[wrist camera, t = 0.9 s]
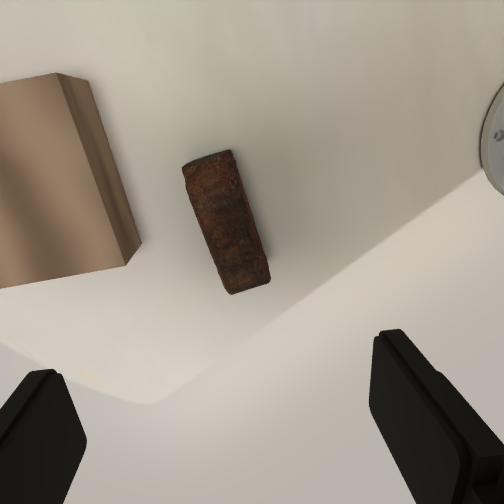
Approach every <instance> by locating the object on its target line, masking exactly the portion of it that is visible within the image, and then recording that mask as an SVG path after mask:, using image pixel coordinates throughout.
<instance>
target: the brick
mask: <svg viewBox="0 0 504 504" xmlns="http://www.w3.org/2000/svg"><path fill="white" fill-rule="evenodd" d="M182 172H183V175H184V177H185V182H186V190H187V193H188V195H189V199H190V202H191V204H192V206H193V209H194V212H195V215H196V217H197V220H198V222H199V225H200V227H201V230H202V233H203V235H204V238H205V240H206V243H207V245H208V248H209V251H210V253H211V255H212V258H213V260H214V263H215V265H216V267H217V270H218V274H219V276H220V278H221V280H222V283H223V286H224V288H225V289H226V291H227V292H228V293H229V294H231V295H233V294H236V293H239V292H242V291H245V290H248V289H251V288H254V287H258V286H261V285H264V284H267V283H269V282H270V280H271V276H270V272H269V266H268V262H267V258H266V256H265V254H264V251H263V248H262V244H261V241H260V238H259V235H258V232H257V229H256V226H255V222H254V219H253V216H252V213H251V210H250V207H249V204H248V201H247V197H246V194H245V192H244V188H243V185H242V181H241V178H240V175H239V172H238V169H237V166H236V162H235V159H234V157H233V154H232V152H231V150H225V151H222V152H218V153H215V154H212V155H209V156H206V157H203V158H200V159H197V160H194V161H192V162H189V163H187V164H186V165H184V166H183V167H182Z"/></svg>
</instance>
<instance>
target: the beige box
mask: <svg viewBox="0 0 504 504" xmlns="http://www.w3.org/2000/svg"><path fill="white" fill-rule="evenodd" d="M141 244H142V243H141V240H140V237H139V234H138V231H137V228H136V225H135V222H134V219H133V216H132V213H131V209H130V206H129V203H128V200H127V197H126V194H125V191H124V188H123V185H122V182H121V179H120V176H119V173H118V170H117V167H116V164H115V161H114V158H113V155H112V152H111V149H110V146H109V143H108V140H107V137H106V134H105V131H104V128H103V125H102V122H101V119H100V116H99V113H98V110H97V107H96V104H95V100H94V97H93V94H92V91H91V88H90V85H89V82H88V81H87V80H83V79H79V78H75V77H71V76H67V75H63V74H59V73H52V74H47V75H41V76H36V77H31V78H26V79H21V80H15V81H10V82H5V83H0V289H1V288H7V287H12V286H18V285H23V284H29V283H34V282H39V281H45V280H50V279H56V278H61V277H67V276H72V275H78V274H83V273H89V272H94V271H100V270H105V269H111V268H116V267H121V266H126V265H127V263H128V262H129V260H130V259H131V258H132V256H133V255H134V254H135V252H136V251H137V249H138V248H139V247H140V245H141Z"/></svg>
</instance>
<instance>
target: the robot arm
mask: <svg viewBox="0 0 504 504" xmlns="http://www.w3.org/2000/svg"><path fill="white" fill-rule="evenodd" d="M481 159H482V164H483V169H484V171H485V173H486V176H487V178H488V180H489V181H490V183H491V184H492V185H493V187H494V188H495V189H496V190H497V191H499V192H500V193H501V194H503V195H504V86H503V87H502V89H501V90H500V91H499V93H498V95H497V97H496V98H495V100H494V102H493V104H492V106H491V108H490V110H489V113H488V115H487V118H486V121H485V123H484V128H483V133H482V138H481ZM369 407H370V411H371V414H372V416H373V418H374V420H375V422H376V424H377V426H378V428H379V430H380V432H381V434H382V436H383V438H384V440H385V442H386V444H387V446H388V448H389V450H390V452H391V454H392V456H393V458H394V460H395V462H396V464H397V466H398V468H399V470H400V472H401V474H402V476H403V478H404V480H405V482H406V484H407V486H408V488H409V490H410V492H411V494H412V496H413V498H414V500H415V502H416V504H504V444H503V443H502V442H501V441H500V439H499V438H498V437H497V436H496V435H495V434H494V432H493V431H492V430H491V429H490V428H489V427H488V425H487V424H486V423H485V422H484V421H483V420H482V419H481V417H480V416H479V415H478V414H477V413H476V411H475V410H474V409H473V408H472V407H471V406H470V405H469V403H468V402H467V401H466V400H465V399H464V398H463V396H462V395H461V394H460V393H459V392H458V391H457V389H456V388H455V387H454V386H453V385H452V384H451V382H450V381H449V380H448V379H447V378H446V377H445V376H444V375H443V374H442V373H441V372H439V371H436V370H435V369H434V367H433V366H432V365H431V364H430V363H429V361H428V360H427V359H426V358H425V357H424V356H423V354H422V353H421V352H420V351H419V350H418V348H417V347H416V346H415V345H414V344H413V343H412V341H411V340H410V339H409V338H408V337H407V335H406V334H405V333H404V332H403V331H402V330H401V329H393V330H385V331H381V332H380V333H379V336H376V337H375V338H374V342H373V355H372V368H371V380H370V393H369ZM86 444H87V438H86V435H85V432H84V430H83V427H82V425H81V422H80V420H79V417H78V414H77V412H76V409H75V407H74V404H73V401H72V399H71V396H70V394H69V391H68V389H67V386H66V383H65V381H64V378H63V376H62V374H60V373H57V372H56V371H55V370H54V369H46V370H37V371H32V372H29V373H28V374H27V375H26V377H25V378H24V379H23V380H22V382H21V383H20V384H19V386H18V387H17V388H16V390H15V391H14V392H13V394H12V395H11V396H10V397H9V399H8V400H7V401H6V402H5V404H4V405H3V406H2V408H1V409H0V504H63V502H64V500H65V497H66V495H67V493H68V490H69V488H70V485H71V483H72V481H73V478H74V476H75V474H76V471H77V469H78V467H79V464H80V462H81V460H82V457H83V455H84V452H85V449H86Z"/></svg>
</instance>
